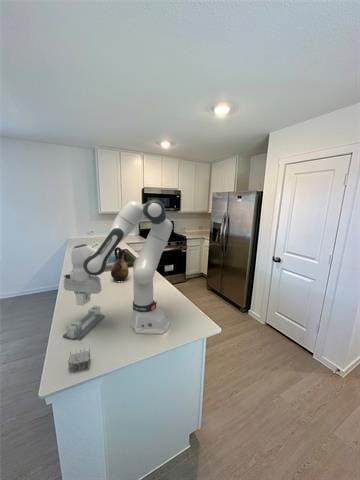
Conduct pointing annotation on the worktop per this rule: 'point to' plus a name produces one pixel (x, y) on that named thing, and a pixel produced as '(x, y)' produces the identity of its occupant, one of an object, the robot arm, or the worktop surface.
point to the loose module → (81, 298)
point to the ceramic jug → (119, 266)
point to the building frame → (82, 358)
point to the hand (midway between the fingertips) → (83, 299)
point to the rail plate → (84, 324)
